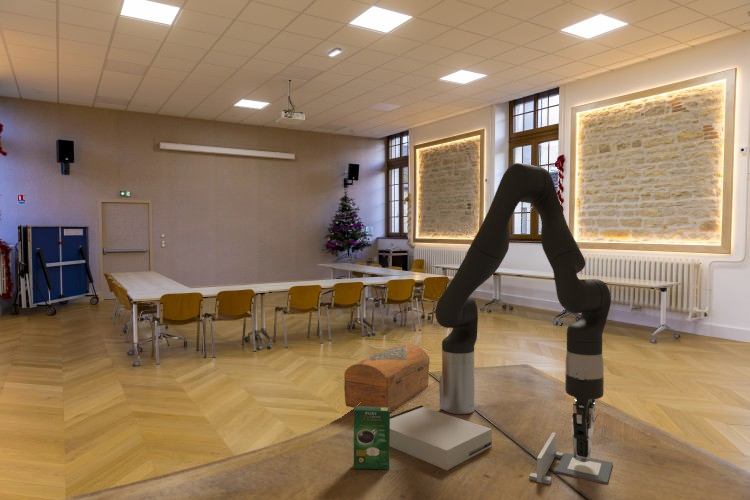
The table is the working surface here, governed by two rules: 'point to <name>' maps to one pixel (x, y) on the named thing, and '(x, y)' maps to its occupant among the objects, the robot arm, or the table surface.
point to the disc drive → (437, 437)
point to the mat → (585, 468)
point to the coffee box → (371, 437)
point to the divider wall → (546, 460)
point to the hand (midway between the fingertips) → (584, 451)
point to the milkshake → (587, 459)
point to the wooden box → (387, 377)
